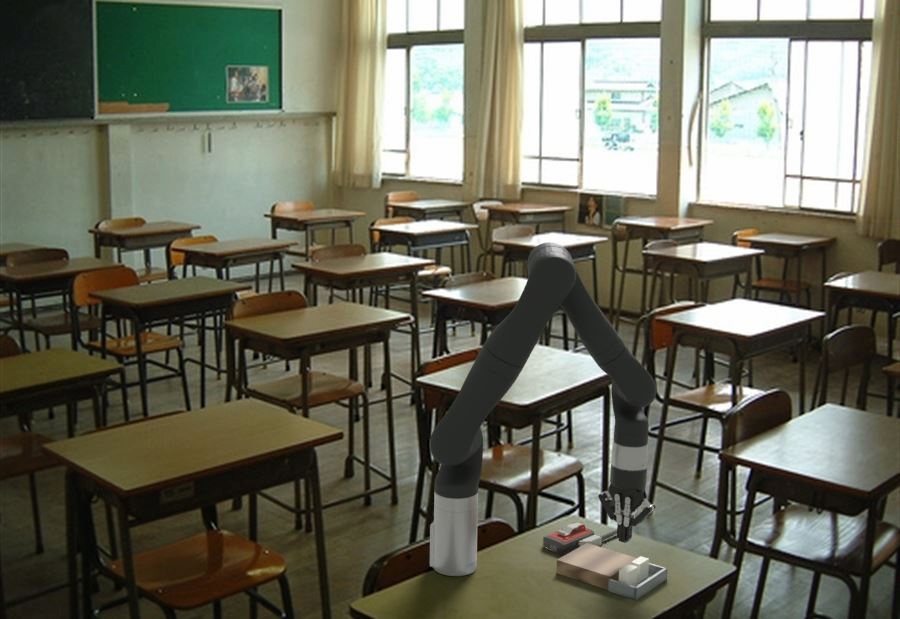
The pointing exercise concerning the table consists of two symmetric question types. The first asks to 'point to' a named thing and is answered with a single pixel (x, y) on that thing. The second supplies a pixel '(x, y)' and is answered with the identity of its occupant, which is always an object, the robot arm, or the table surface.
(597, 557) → the tan flat block
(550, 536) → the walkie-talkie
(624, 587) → the box
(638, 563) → the tile
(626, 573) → the tile
